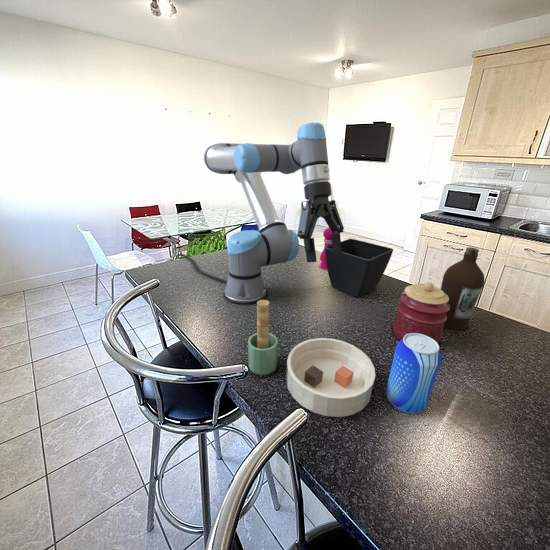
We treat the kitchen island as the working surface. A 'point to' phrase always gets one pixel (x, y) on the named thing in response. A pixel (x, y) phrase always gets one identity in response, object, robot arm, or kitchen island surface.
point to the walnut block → (313, 376)
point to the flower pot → (357, 266)
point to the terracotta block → (343, 376)
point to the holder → (262, 355)
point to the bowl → (330, 377)
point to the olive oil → (462, 289)
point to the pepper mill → (328, 242)
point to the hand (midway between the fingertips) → (325, 258)
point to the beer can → (413, 372)
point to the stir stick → (263, 324)
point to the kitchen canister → (421, 311)
